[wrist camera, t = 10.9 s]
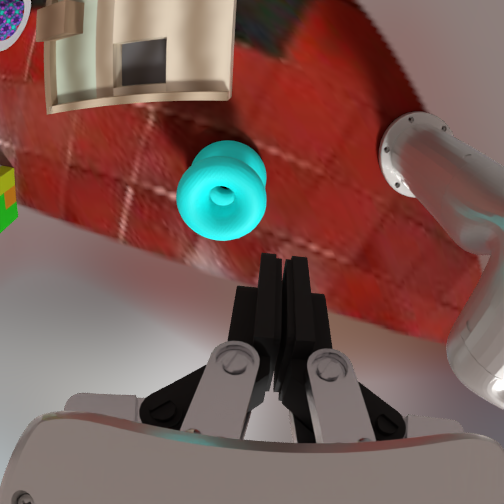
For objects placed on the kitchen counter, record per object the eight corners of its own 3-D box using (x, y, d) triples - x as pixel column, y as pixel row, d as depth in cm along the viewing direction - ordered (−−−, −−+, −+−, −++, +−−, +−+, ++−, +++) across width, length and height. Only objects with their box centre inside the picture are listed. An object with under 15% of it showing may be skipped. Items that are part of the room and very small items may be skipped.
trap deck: (242, -74, 21) (239, -87, 18) (231, 96, 35) (227, 100, 32) (69, -43, 21) (52, -48, 18) (64, 107, 35) (47, 114, 32)
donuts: (210, 141, 29) (286, 201, 32) (223, 122, 37) (281, 170, 41) (156, 210, 34) (227, 260, 37) (178, 178, 42) (234, 219, 45)
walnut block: (84, 3, 25) (65, -1, 21) (82, 33, 27) (63, 32, 23) (57, 11, 25) (37, 10, 21) (56, 40, 27) (35, 41, 23)
